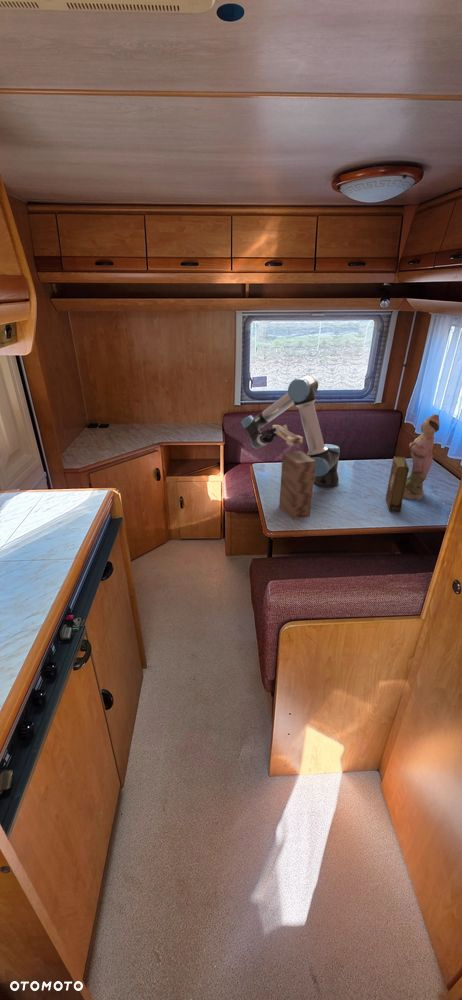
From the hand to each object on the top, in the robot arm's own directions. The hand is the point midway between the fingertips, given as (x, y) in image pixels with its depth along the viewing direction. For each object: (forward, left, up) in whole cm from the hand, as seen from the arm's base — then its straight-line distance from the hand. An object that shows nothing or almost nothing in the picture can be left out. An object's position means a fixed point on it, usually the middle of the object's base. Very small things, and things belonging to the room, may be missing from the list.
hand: (282, 427), depth 221 cm
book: (-53, +30, -40) cm, 73 cm away
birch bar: (0, +3, -4) cm, 6 cm away
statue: (-72, +21, -40) cm, 85 cm away
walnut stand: (0, +19, -39) cm, 44 cm away
